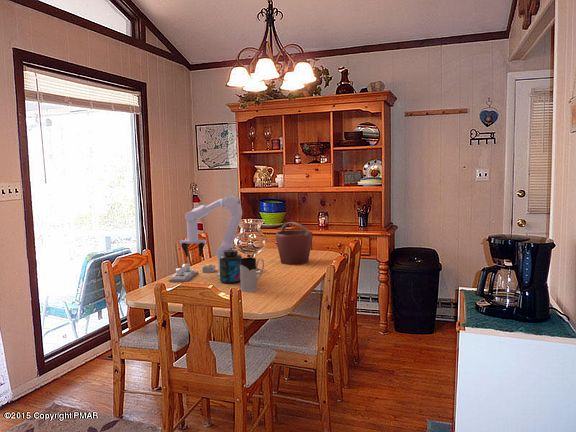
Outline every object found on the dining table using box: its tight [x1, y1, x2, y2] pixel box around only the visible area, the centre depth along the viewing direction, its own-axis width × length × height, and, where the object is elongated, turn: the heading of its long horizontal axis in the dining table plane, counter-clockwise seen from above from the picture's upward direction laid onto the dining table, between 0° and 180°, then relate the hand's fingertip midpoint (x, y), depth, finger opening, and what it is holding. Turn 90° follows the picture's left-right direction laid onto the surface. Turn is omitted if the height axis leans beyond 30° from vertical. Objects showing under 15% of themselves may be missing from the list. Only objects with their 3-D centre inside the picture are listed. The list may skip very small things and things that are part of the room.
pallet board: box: [168, 269, 199, 283], centre depth 254 cm, size 20×10×3 cm, turn 175°
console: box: [202, 264, 216, 273], centre depth 268 cm, size 6×6×3 cm
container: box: [218, 249, 243, 285], centre depth 242 cm, size 12×12×16 cm
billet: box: [181, 263, 191, 272], centre depth 258 cm, size 4×4×5 cm
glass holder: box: [240, 257, 265, 293], centre depth 226 cm, size 9×14×15 cm, turn 135°
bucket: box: [275, 221, 313, 266], centre depth 286 cm, size 24×22×25 cm
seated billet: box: [175, 267, 184, 276], centre depth 248 cm, size 4×4×5 cm
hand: (193, 256), depth 261 cm, fingers open, 7 cm apart
